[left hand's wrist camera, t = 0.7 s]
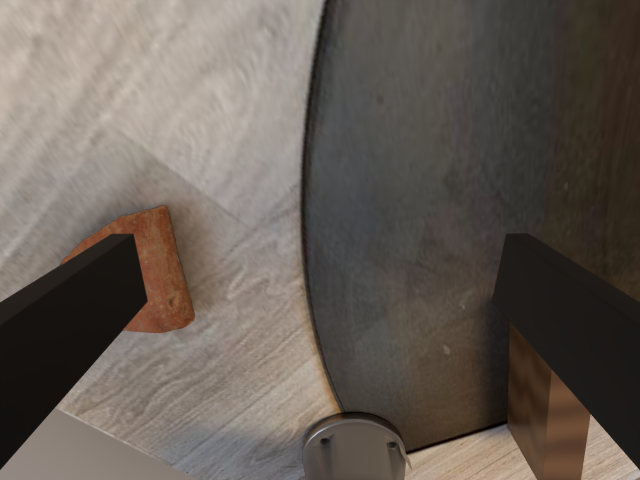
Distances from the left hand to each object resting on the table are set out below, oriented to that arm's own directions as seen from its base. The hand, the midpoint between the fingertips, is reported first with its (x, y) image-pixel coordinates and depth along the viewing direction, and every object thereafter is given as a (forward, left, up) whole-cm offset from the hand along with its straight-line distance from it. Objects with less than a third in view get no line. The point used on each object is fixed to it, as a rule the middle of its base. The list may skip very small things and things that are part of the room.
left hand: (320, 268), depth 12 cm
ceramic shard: (-14, +22, -25) cm, 36 cm away
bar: (-25, -29, -25) cm, 46 cm away
